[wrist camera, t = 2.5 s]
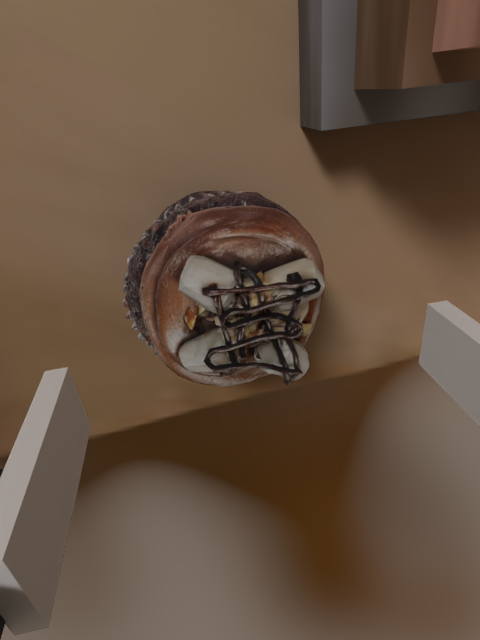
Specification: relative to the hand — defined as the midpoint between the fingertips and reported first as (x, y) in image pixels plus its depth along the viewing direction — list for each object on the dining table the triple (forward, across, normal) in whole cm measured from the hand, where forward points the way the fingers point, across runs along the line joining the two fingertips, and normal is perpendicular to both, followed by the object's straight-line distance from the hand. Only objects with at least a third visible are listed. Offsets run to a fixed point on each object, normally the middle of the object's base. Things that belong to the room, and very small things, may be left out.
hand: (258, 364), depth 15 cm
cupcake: (+11, 0, 0) cm, 11 cm away
